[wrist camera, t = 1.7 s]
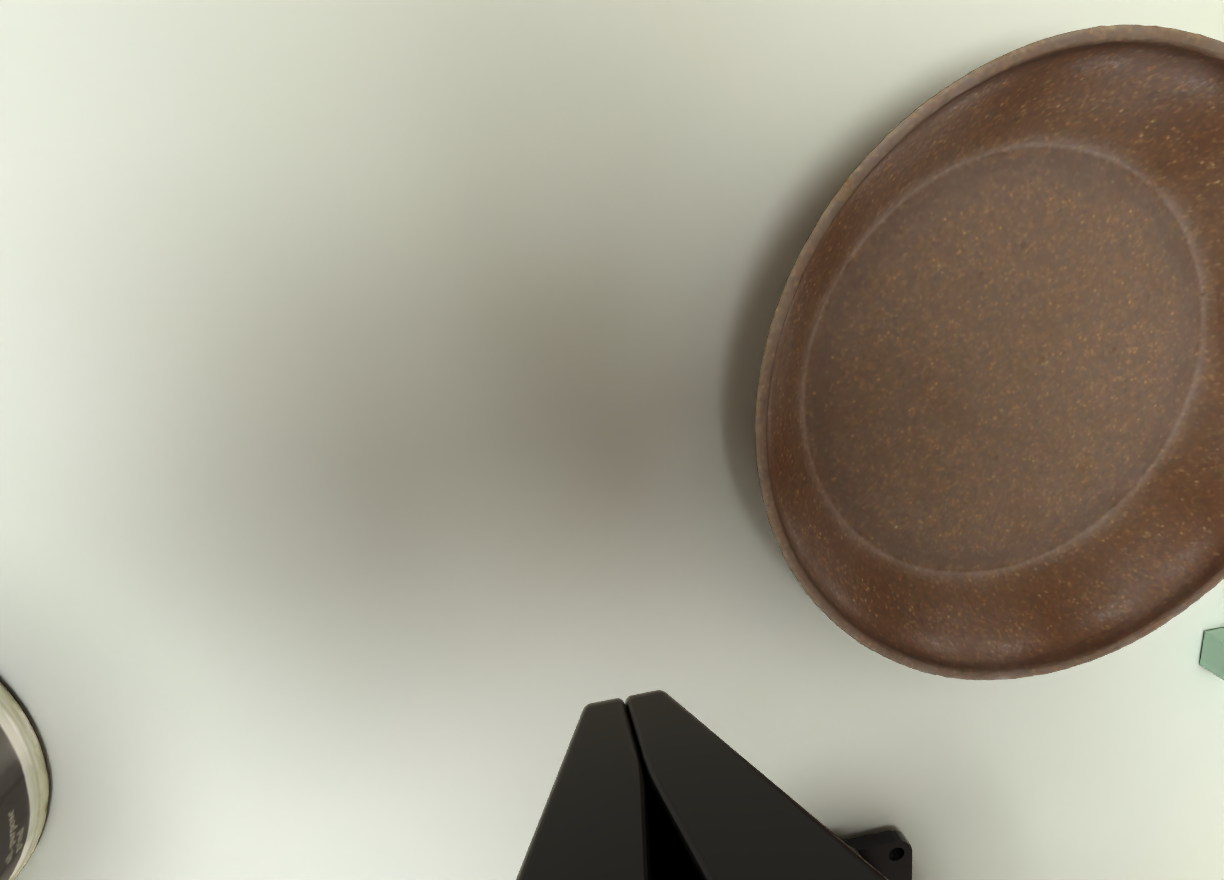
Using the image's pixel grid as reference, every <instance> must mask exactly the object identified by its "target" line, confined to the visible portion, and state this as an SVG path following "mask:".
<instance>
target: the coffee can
mask: <svg viewBox="0 0 1224 880" xmlns="http://www.w3.org/2000/svg"><path fill="white" fill-rule="evenodd" d="M48 796H49V779H48V774H47V770H46V765H45V760H44V756H43V752H42V749H41V746H40V743H39V740H38V738H37V736H36V734H35V732H34V730H33V727H32V726H31V724H30V722H29V720H28V719H27V717H26V715H25V713H24V712H23V710H22V708H21V707H20V705H19V704H18V703H17V701H16V700H15V699H14V698H13V696H12V695H11V694H10V693H9V691H8V690H7V689H6V687H5V686H4V685H3V684H2V683H1V682H0V880H14V879H15V877H16V876H17V875H18V874H19V872H20V871H21V870H22V868H23V867H24V865H25V864H26V863H27V861H28V859H29V858H30V856H31V854H32V853H33V851H34V849H35V847H36V845H37V842H38V840H39V837H40V835H41V832H42V829H43V826H44V823H45V819H46V813H47V806H48Z"/></svg>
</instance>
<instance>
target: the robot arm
mask: <svg viewBox="0 0 1224 880" xmlns="http://www.w3.org/2000/svg"><path fill="white" fill-rule="evenodd" d="M516 880H912V848H911V845H910V844H909V842H908V841H907V839H906V838H905V836H904V835H903V834H902V833H901V832H899V831H896V830H893V831H886V832H882V833H877V834H873V835H868V836H864V837H859V838H855V839H851V840H846V841H842V840H840V839H839V838H838V837H837V836H836V835H834V834H833V833H832V832H831V831H830V830H829V829H827V828H826V827H825V826H824V825H823V824H821V823H820V822H819V821H818V820H817V819H815V818H814V817H813V816H812V815H811V814H810V813H808V812H807V811H806V810H805V809H804V808H802V807H801V806H800V805H799V804H798V803H796V802H795V801H794V800H793V799H792V798H790V797H789V796H788V795H787V794H786V793H785V792H783V791H782V790H781V789H780V788H779V787H777V786H776V785H775V784H774V783H773V782H771V781H770V780H769V779H768V778H767V777H766V776H764V775H763V774H762V773H761V772H760V771H758V770H757V769H756V768H755V767H754V766H752V765H751V764H750V763H749V762H748V761H747V760H745V759H744V758H743V757H742V756H741V755H739V754H738V753H737V752H736V751H735V750H733V749H732V748H731V747H730V746H729V745H727V744H726V743H725V742H724V741H723V740H722V739H720V738H719V737H718V736H717V735H716V734H714V733H713V732H712V731H711V730H710V729H708V728H707V727H706V726H705V725H704V724H703V723H701V722H700V721H699V720H698V719H697V718H695V717H694V716H693V715H692V714H691V713H689V712H688V711H687V710H686V709H685V708H684V707H682V706H681V705H680V704H679V703H678V702H676V701H675V700H674V699H673V698H672V697H670V696H669V695H668V694H667V693H666V692H664V691H661V690H656V691H651V692H646V693H641V694H636V695H631V696H629V697H628V698H627V699H626V701H625V703H624V702H623V700H621V699H619V698H616V699H611V700H606V701H601V702H596V703H591V704H588V705H587V706H585V708H584V709H583V711H582V714H581V716H580V719H579V722H578V724H577V727H576V729H575V732H574V734H573V737H572V739H571V742H570V744H569V747H568V749H567V752H566V754H565V757H564V760H563V762H562V765H561V767H560V770H559V772H558V775H557V777H556V780H555V782H554V785H553V787H552V790H551V792H550V795H549V798H548V800H547V803H546V805H545V808H544V810H543V813H542V815H541V818H540V820H539V823H538V825H537V828H536V831H535V833H534V836H533V838H532V841H531V843H530V846H529V848H528V851H527V853H526V856H525V858H524V861H523V863H522V866H521V869H520V871H519V874H518V876H517V879H516Z"/></svg>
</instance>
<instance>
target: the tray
mask: <svg viewBox="0 0 1224 880" xmlns="http://www.w3.org/2000/svg"><path fill="white" fill-rule="evenodd" d="M1200 665H1201V666H1202V667H1204V668H1205V669H1207V670H1208V671H1210V672H1212V673H1213V674H1215V675H1216V676H1218V677H1220V678H1221V679H1223V680H1224V627H1223V628H1218V629H1214V630H1209V631H1205V633H1204V640H1203V646H1202V653H1201V659H1200Z"/></svg>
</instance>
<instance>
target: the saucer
mask: <svg viewBox="0 0 1224 880" xmlns="http://www.w3.org/2000/svg"><path fill="white" fill-rule="evenodd" d="M755 439H756V458H757V467H758V474H759V481H760V487H761V492H762V497H763V500H764V504H765V508H766V512H767V516H768V519H769V522H770V525H771V528H772V531H773V534H774V536H775V538H776V540H777V542H778V544H779V547H780V549H781V551H782V554H783V556H784V558H785V559H786V561H787V563H788V565H789V567H790V569H791V570H792V572H793V574H794V575H795V577H796V578H797V580H798V581H799V583H800V584H801V586H802V587H803V589H804V590H805V592H806V593H807V594H808V595H809V596H810V598H811V599H812V600H813V602H814V603H815V604H816V605H817V606H818V607H819V608H820V609H821V610H822V611H823V612H824V613H825V614H826V615H827V616H828V617H829V618H830V619H831V620H832V621H833V622H834V623H835V624H836V625H837V626H839V627H840V628H841V629H842V630H844V631H845V632H846V633H848V634H849V635H850V636H851V637H853V638H854V639H855V640H857V641H858V642H860V643H861V644H863V645H864V646H866V647H867V648H869V649H871V650H872V651H875V652H877V653H879V654H880V655H882V656H884V657H886V658H888V659H891V660H893V661H895V662H897V663H899V664H902V665H905V666H908V667H910V668H913V669H917V670H919V671H921V672H925V673H930V674H933V675H940V676H944V677H949V678H958V679H967V680H995V679H1000V680H1002V679H1016V678H1022V677H1029V676H1033V675H1042V674H1047V673H1052V672H1056V671H1059V670H1063V669H1068V668H1070V667H1073V666H1076V665H1080V664H1083V663H1086V662H1090V661H1092V660H1095V659H1097V658H1100V657H1102V656H1104V655H1107V654H1109V653H1112V652H1114V651H1117V650H1119V649H1121V648H1123V647H1124V646H1127V645H1129V644H1131V643H1133V642H1135V641H1136V640H1138V639H1140V638H1142V637H1144V636H1146V635H1147V634H1149V633H1151V632H1153V631H1154V630H1156V629H1157V628H1159V627H1161V626H1162V625H1164V624H1165V623H1167V622H1168V621H1169V620H1170V619H1172V618H1173V617H1175V616H1177V615H1178V614H1180V613H1181V612H1183V611H1184V610H1186V609H1187V608H1188V607H1189V606H1190V605H1191V604H1193V603H1194V602H1196V601H1197V600H1199V599H1200V598H1201V597H1202V596H1203V595H1204V594H1206V593H1207V592H1208V591H1210V590H1211V589H1212V588H1214V587H1215V586H1216V585H1217V584H1218V583H1219V582H1220V581H1221V580H1222V579H1224V43H1223V42H1221V41H1218V40H1216V39H1212V38H1209V37H1206V36H1203V35H1200V34H1194V33H1190V32H1186V31H1181V30H1177V29H1172V28H1164V27H1158V26H1142V25H1114V26H1098V27H1093V28H1088V29H1082V30H1077V31H1072V32H1068V33H1064V34H1060V35H1056V36H1053V37H1049V38H1046V39H1043V40H1040V41H1037V42H1034V43H1031V44H1029V45H1026V46H1024V47H1021V48H1019V49H1017V50H1014V51H1012V52H1010V53H1008V54H1005V55H1003V56H1001V57H999V58H997V59H995V60H993V61H991V62H989V63H987V64H985V65H983V66H981V67H979V68H977V69H975V70H973V71H972V72H970V73H968V74H967V75H965V76H964V77H963V78H961V79H960V80H958V81H956V82H954V83H953V84H951V85H950V86H948V87H946V88H945V89H943V90H941V91H940V92H939V93H938V94H936V95H935V96H933V97H932V98H930V99H929V100H928V101H926V102H925V103H924V104H922V105H921V106H920V107H918V108H917V109H916V110H915V111H914V112H913V113H912V114H910V115H909V116H908V117H906V118H905V119H904V120H903V121H902V122H901V123H900V124H899V125H898V126H897V127H896V128H894V129H893V130H892V131H891V132H890V133H889V134H888V135H887V136H886V137H885V138H884V139H883V140H882V141H881V142H880V143H879V144H878V145H877V146H876V147H875V148H874V149H873V150H872V151H871V152H870V153H869V154H868V155H867V156H866V158H865V159H864V160H863V161H862V162H861V163H860V165H859V166H858V167H857V168H856V169H855V170H854V171H853V172H852V173H851V174H850V176H849V177H848V179H847V180H846V181H845V183H844V184H843V185H842V186H841V188H840V189H839V191H838V192H837V193H836V195H835V196H834V197H833V199H832V200H831V202H830V203H829V205H828V206H827V208H826V209H825V211H824V212H823V214H822V215H821V217H820V219H819V221H818V222H817V224H816V226H815V228H814V229H813V231H812V233H811V235H810V236H809V238H808V240H807V241H806V243H805V245H804V246H803V248H802V250H801V252H800V254H799V256H798V258H797V260H796V262H795V264H794V266H793V269H792V271H791V273H790V275H789V277H788V279H787V282H786V285H785V287H784V290H783V292H782V295H781V298H780V300H779V303H778V305H777V308H776V311H775V314H774V318H773V321H772V323H771V325H770V328H769V333H768V337H767V342H766V346H765V350H764V355H763V359H762V363H761V370H760V376H759V382H758V389H757V396H756V418H755Z"/></svg>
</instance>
